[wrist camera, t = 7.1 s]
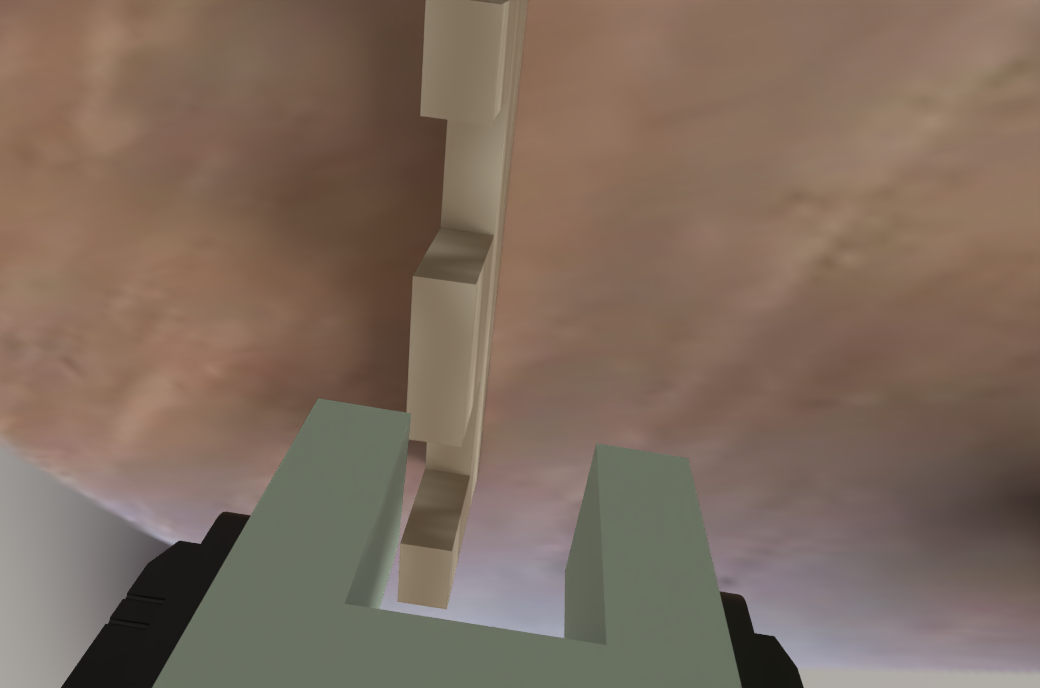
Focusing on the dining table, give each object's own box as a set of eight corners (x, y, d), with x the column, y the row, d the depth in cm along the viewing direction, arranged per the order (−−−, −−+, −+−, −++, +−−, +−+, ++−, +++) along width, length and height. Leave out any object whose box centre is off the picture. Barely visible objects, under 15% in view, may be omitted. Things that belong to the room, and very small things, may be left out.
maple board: (528, -9, 24) (501, 4, 17) (477, 473, 34) (446, 609, 27) (474, -16, 25) (426, -6, 17) (439, 467, 34) (397, 601, 27)
